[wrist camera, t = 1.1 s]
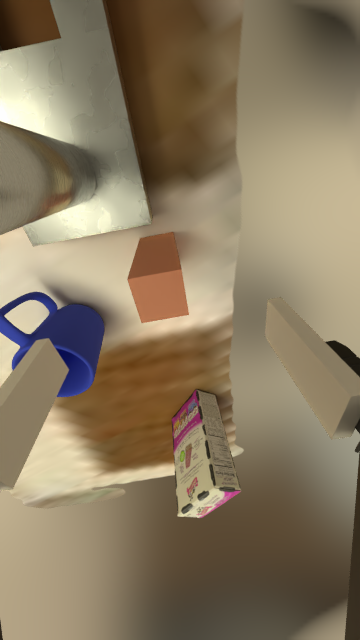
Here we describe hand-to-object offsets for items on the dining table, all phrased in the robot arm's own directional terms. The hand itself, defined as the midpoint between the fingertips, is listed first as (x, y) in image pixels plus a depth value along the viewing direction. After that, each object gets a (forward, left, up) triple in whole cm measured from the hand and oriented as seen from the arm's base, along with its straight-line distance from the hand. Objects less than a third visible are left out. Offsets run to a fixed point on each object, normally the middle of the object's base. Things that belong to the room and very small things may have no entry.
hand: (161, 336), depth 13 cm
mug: (+6, -14, -17) cm, 23 cm away
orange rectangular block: (0, 0, -17) cm, 17 cm away
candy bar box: (+33, 0, -17) cm, 37 cm away
